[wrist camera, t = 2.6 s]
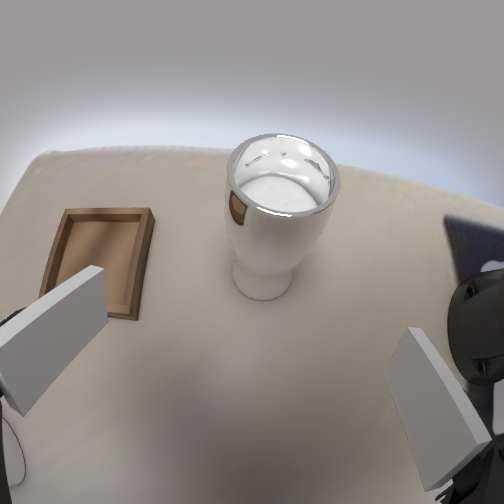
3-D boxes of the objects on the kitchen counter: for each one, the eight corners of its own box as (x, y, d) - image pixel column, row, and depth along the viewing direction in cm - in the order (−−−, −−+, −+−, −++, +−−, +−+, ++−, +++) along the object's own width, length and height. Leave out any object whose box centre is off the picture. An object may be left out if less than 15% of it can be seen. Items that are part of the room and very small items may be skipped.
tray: (155, 220, 31) (149, 207, 29) (137, 320, 26) (129, 314, 23) (73, 219, 30) (65, 208, 28) (49, 307, 25) (37, 300, 23)
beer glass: (238, 313, 27) (242, 233, 13) (220, 250, 30) (211, 139, 16) (305, 294, 28) (364, 207, 14) (282, 236, 31) (314, 126, 17)
